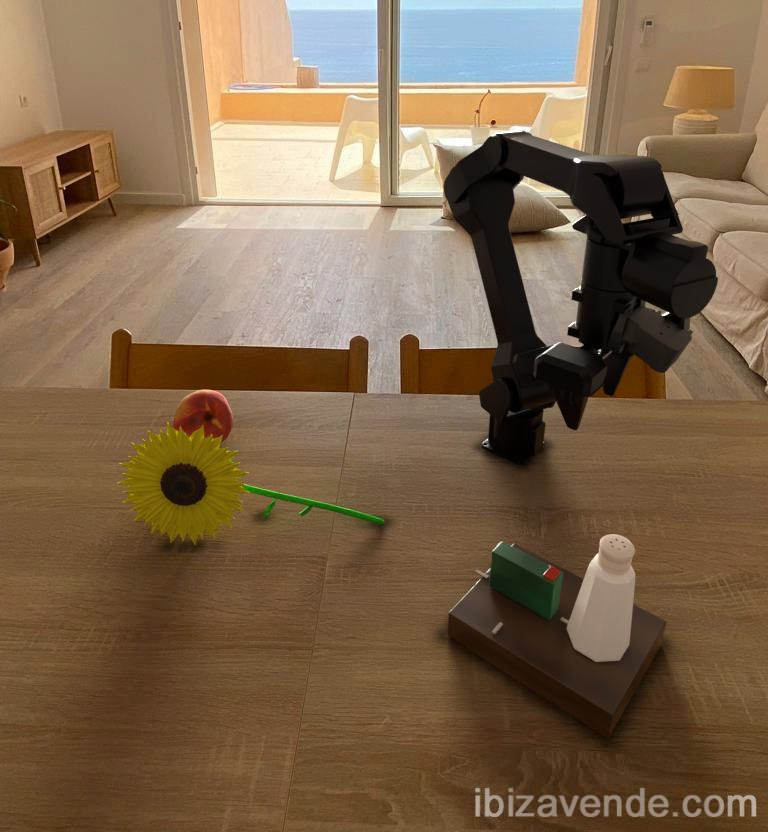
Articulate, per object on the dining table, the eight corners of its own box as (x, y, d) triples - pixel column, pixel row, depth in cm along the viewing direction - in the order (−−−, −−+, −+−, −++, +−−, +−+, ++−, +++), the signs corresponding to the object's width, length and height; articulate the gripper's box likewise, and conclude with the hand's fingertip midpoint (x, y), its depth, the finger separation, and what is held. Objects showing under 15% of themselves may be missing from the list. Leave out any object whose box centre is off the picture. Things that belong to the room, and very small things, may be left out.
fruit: (175, 464, 91) (167, 412, 88) (177, 430, 98) (169, 381, 95) (236, 455, 93) (230, 404, 89) (234, 423, 100) (228, 374, 96)
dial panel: (607, 739, 57) (612, 713, 55) (440, 631, 66) (440, 606, 65) (661, 644, 65) (667, 619, 64) (505, 560, 75) (507, 537, 73)
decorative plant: (401, 460, 80) (145, 392, 77) (403, 483, 75) (127, 411, 72) (365, 568, 83) (118, 506, 81) (365, 598, 78) (100, 533, 75)
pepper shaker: (595, 674, 59) (617, 578, 54) (553, 626, 63) (570, 533, 58) (642, 649, 61) (667, 555, 56) (598, 605, 65) (618, 514, 60)
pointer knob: (489, 586, 68) (491, 549, 66) (498, 575, 69) (501, 538, 67) (549, 621, 64) (554, 582, 62) (558, 609, 65) (563, 570, 63)
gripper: (652, 334, 60) (626, 480, 67) (720, 274, 73) (693, 401, 80) (537, 301, 67) (524, 437, 73) (618, 252, 80) (601, 371, 86)
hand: (591, 411), depth 78 cm, fingers open, 9 cm apart
